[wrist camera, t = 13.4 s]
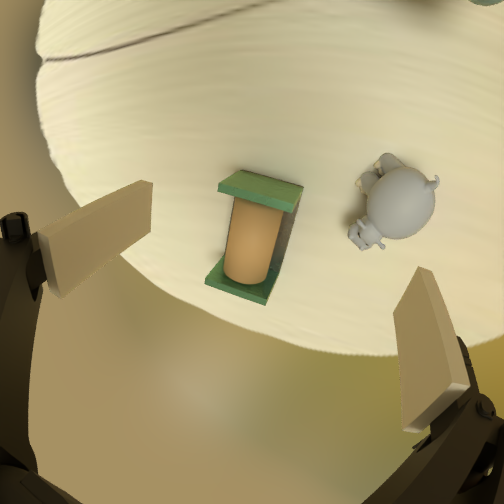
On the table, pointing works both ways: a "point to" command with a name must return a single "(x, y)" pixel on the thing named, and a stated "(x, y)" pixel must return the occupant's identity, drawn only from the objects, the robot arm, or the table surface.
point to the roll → (251, 241)
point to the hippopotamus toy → (393, 203)
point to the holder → (288, 201)
